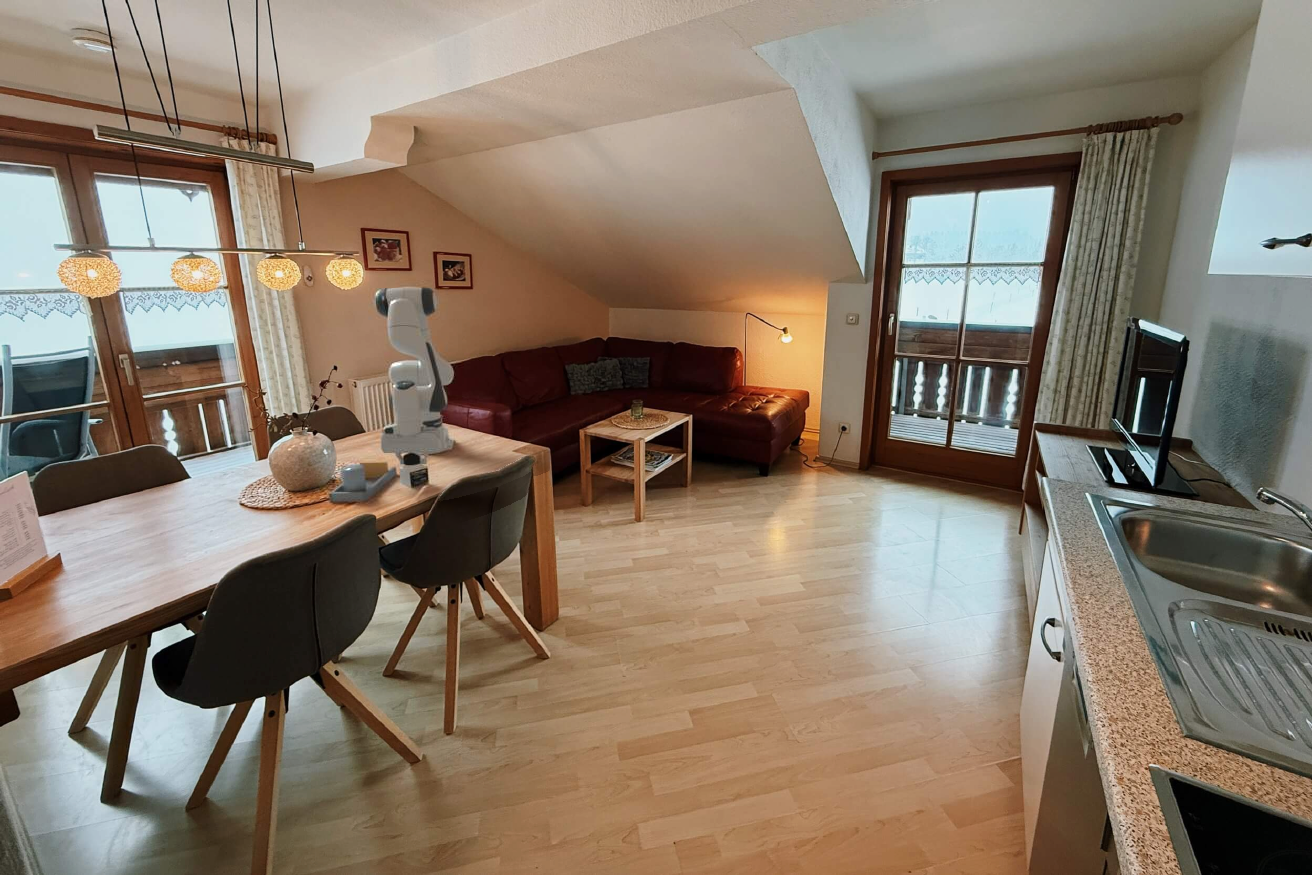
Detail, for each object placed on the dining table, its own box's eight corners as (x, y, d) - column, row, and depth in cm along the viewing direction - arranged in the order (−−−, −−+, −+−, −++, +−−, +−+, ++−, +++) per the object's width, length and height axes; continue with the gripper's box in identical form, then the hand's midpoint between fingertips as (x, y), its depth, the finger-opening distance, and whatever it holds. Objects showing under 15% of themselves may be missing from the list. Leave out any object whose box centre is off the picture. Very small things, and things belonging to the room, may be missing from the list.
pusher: (363, 476, 214) (361, 461, 212) (389, 476, 214) (387, 461, 212) (362, 478, 212) (359, 462, 211) (387, 477, 213) (385, 462, 211)
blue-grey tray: (363, 477, 217) (362, 467, 216) (397, 476, 218) (395, 466, 217) (330, 504, 192) (328, 493, 191) (368, 504, 193) (366, 493, 192)
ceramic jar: (350, 491, 201) (346, 464, 198) (370, 491, 201) (366, 464, 198) (340, 499, 194) (336, 471, 191) (362, 499, 194) (358, 471, 192)
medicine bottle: (411, 490, 205) (408, 458, 201) (400, 485, 209) (397, 454, 205) (429, 484, 210) (426, 453, 207) (418, 480, 215) (415, 449, 211)
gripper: (441, 424, 207) (445, 460, 211) (383, 424, 206) (388, 461, 210) (436, 429, 201) (440, 466, 205) (376, 429, 200) (381, 466, 204)
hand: (413, 463), depth 208 cm, fingers open, 6 cm apart
